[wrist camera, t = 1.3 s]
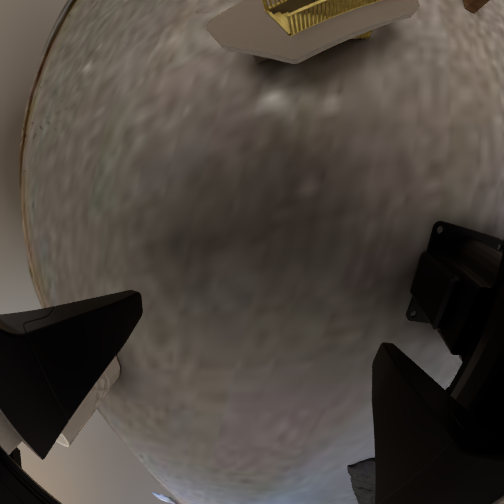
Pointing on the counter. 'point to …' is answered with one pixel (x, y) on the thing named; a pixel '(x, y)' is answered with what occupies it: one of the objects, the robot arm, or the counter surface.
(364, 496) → the dark slate chunk
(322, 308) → the counter surface
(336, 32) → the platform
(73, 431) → the white cup
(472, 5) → the frame
